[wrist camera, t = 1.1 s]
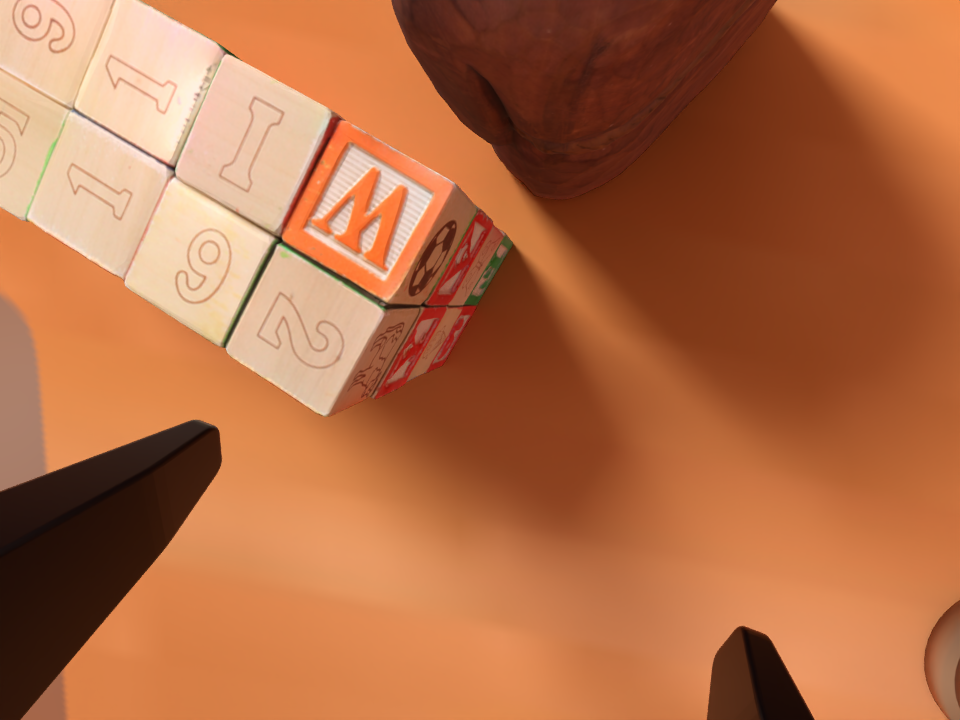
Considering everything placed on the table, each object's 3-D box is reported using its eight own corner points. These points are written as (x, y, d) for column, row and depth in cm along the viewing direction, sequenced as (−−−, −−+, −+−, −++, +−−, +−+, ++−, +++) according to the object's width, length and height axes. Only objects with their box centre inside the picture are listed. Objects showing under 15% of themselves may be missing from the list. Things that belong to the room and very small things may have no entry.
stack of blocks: (65, 130, 28) (-334, -3, 16) (118, 4, 27) (-266, -243, 15) (446, 368, 26) (323, 426, 14) (519, 242, 25) (458, 183, 12)
